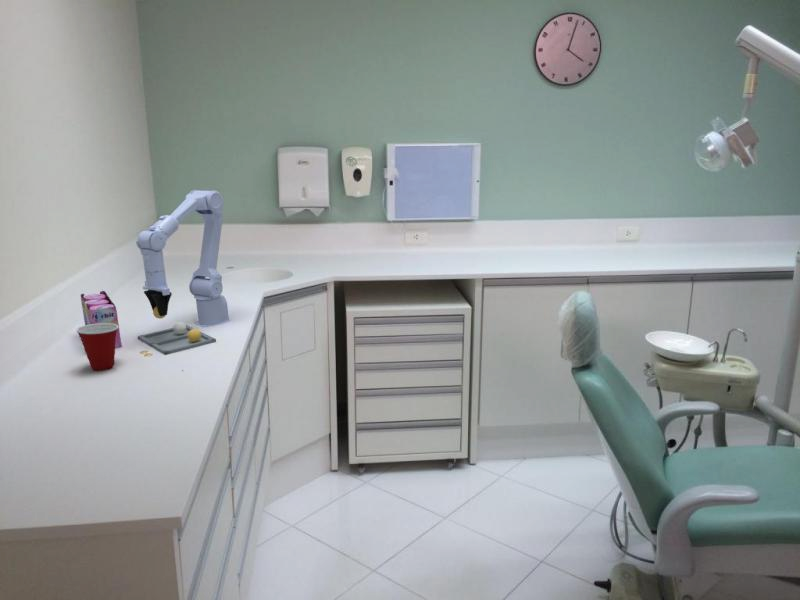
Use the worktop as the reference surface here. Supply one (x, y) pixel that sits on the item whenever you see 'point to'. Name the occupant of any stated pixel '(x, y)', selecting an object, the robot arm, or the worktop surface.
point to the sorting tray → (173, 340)
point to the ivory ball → (179, 328)
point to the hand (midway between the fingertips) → (160, 313)
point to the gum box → (100, 311)
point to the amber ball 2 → (194, 335)
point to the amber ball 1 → (157, 313)
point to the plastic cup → (99, 344)
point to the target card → (146, 354)
